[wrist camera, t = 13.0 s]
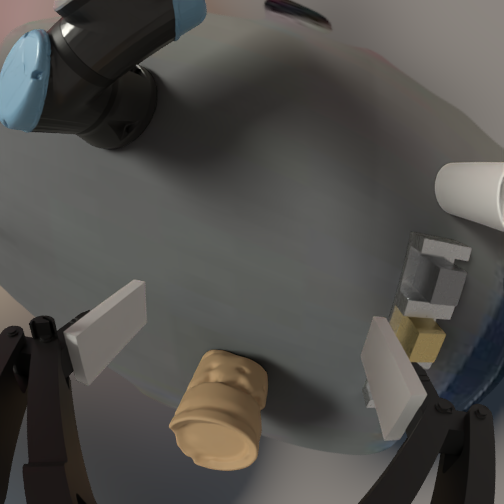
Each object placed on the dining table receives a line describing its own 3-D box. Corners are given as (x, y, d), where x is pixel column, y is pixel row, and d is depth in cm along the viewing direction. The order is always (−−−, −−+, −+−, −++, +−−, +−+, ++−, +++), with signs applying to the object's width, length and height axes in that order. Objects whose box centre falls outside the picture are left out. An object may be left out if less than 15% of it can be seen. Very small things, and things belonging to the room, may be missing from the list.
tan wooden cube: (404, 311, 40) (419, 333, 34) (428, 313, 40) (446, 334, 33) (394, 338, 42) (407, 362, 35) (419, 339, 41) (433, 362, 35)
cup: (433, 213, 37) (495, 235, 22) (434, 159, 35) (498, 157, 20) (472, 216, 36) (535, 237, 21) (473, 165, 34) (539, 168, 18)
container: (217, 399, 51) (192, 470, 34) (189, 350, 49) (149, 420, 31) (278, 389, 48) (270, 468, 31) (255, 335, 46) (235, 414, 29)
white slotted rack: (410, 231, 38) (433, 243, 31) (455, 240, 37) (482, 253, 30) (361, 389, 46) (369, 419, 39) (402, 390, 45) (413, 417, 38)
